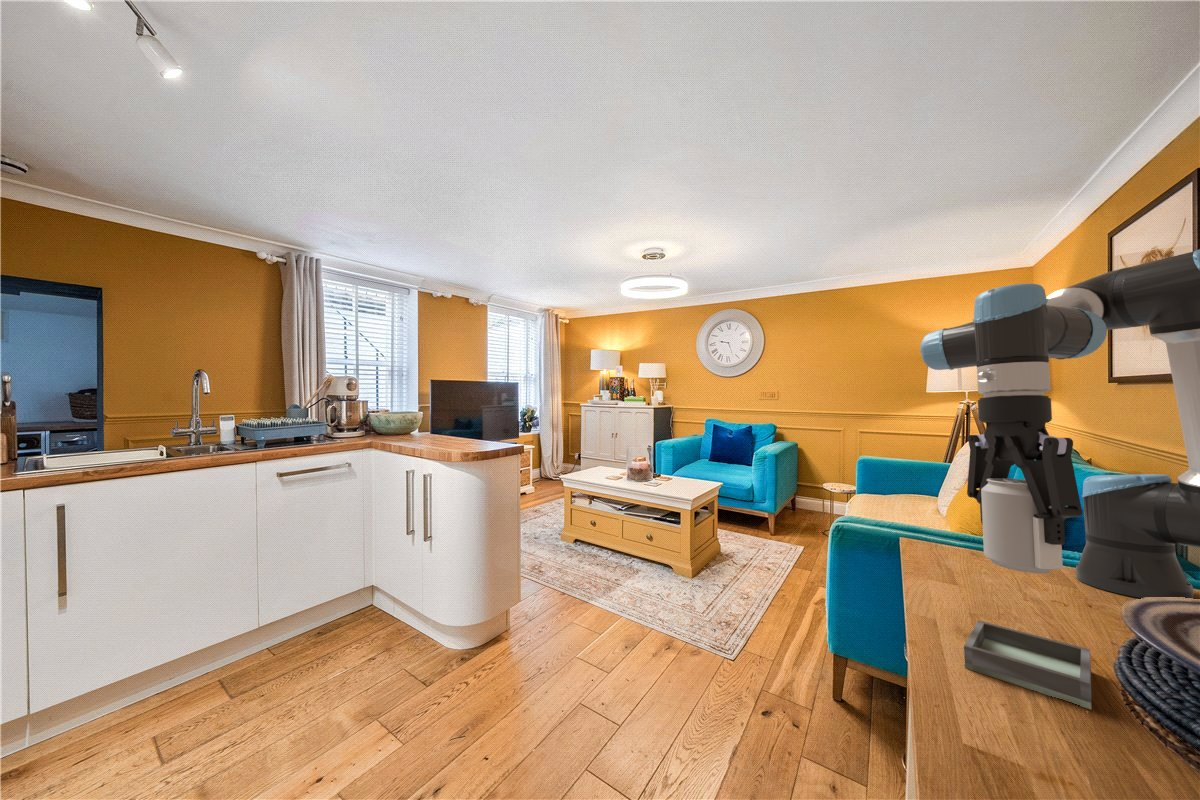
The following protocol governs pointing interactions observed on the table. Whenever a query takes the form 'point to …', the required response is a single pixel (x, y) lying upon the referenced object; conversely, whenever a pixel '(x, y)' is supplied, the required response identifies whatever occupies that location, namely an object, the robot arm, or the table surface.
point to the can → (1009, 524)
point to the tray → (1030, 662)
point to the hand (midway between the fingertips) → (1020, 557)
